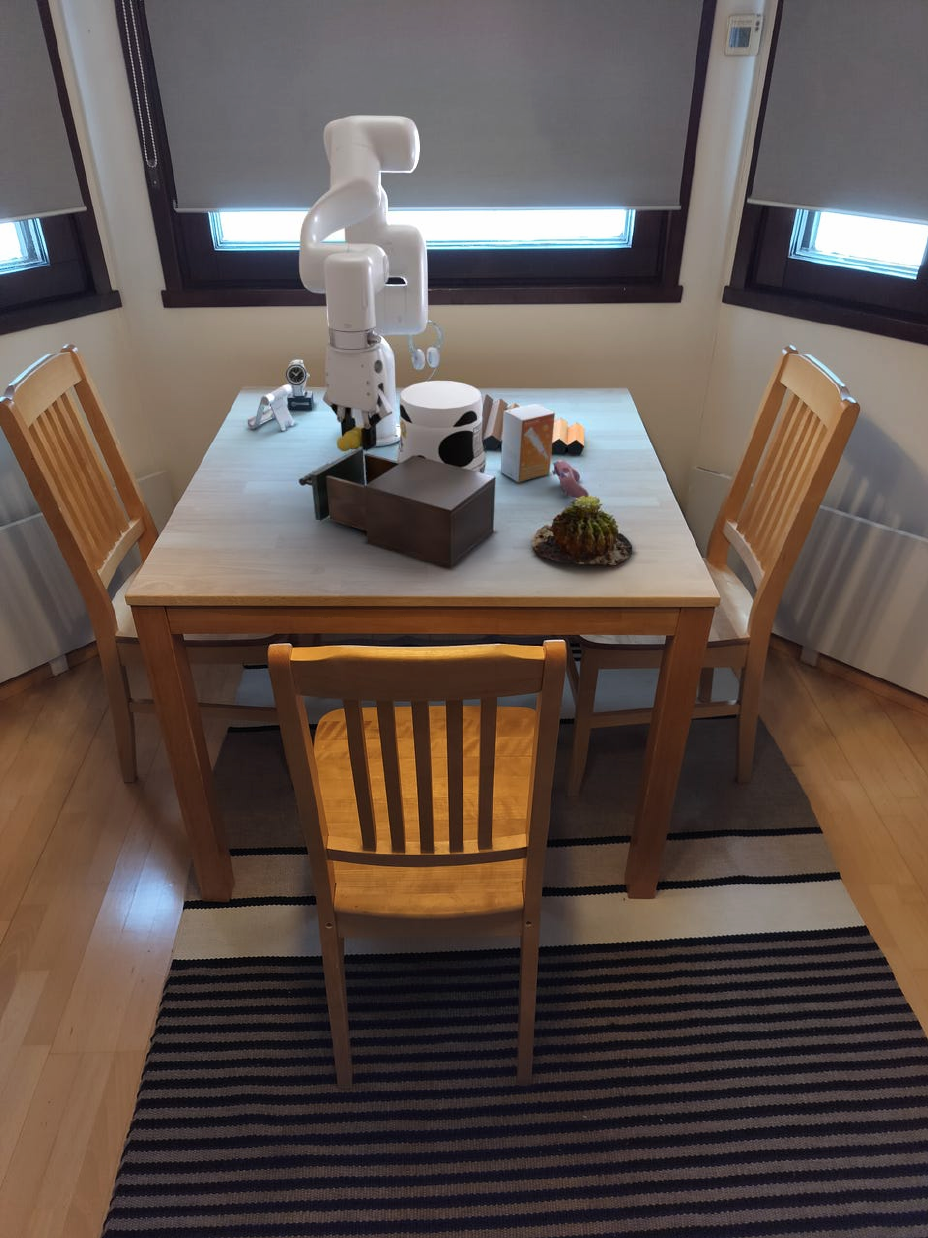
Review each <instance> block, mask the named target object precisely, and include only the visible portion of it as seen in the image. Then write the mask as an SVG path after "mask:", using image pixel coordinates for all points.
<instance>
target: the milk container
mask: <svg viewBox="0 0 928 1238" xmlns="http://www.w3.org/2000/svg"><path fill="white" fill-rule="evenodd" d="M398 405H399V406H398V409H399V425H400V440H399V443H398V447H397V451H396V458H395V461H398V462H403V461H405V460H406V459H408V458H410V457H411V456H413V455H414V456H418V457H422V458H425V459H429V460H433V461H437V462H441V463H445V464H449V465H453V466H457V467H461V468H464V469H468V470H472V471H476V472H480V473H484V474H485V471H486V463H487V459H486V451H485V446H484V442H482V410H483V406H482V394H481V391H480V390H479V389H478V388H476V387H475V386H474V385H470V384H467V383H464V382H458V381H451V380H431V381H427V382H426V381H422V382H418V383H413V384H411V385H408V386H406V387H405V388H404V389H402V391H401V392H400V394H399V404H398Z"/></svg>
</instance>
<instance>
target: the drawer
mask: <svg viewBox="0 0 928 1238" xmlns="http://www.w3.org/2000/svg"><path fill="white" fill-rule="evenodd" d="M400 463H402V462H398V461H396V460H395V459H394V460H393V459H390V458H386V457H382V456H379V455H375V454H371V453H367V452H366V453H364V450H363V449H362V447H358V448H357V449H352V450H351V451H348V452H347V453H345V454H344V455H342V456H340V457H338V458H337V459H335V460H333V461H331V462H327V463H325V464H324V465H322V466H320V467H318V468H317V469H314V470H313V471H311V472H309V473H307V474H306V475H304V476H302V477H300V478H299V479H298V483H299V485H300V486H301V487H302V486H303V487H304V486H305V485H306V486H311V489H312V498H313V508H314V517H315V520H316V521H319V522H322V521H323V520H325V519H326V518H329V520H330V521H331V522H332V521H333V522H336V523H339V524H342V525H346V526H348V527H353V528H355V529H358V530H362V531H364V532H367V524H366V508H365V490H364V486H365V485H367V484H368V483H370V482H371V481H373V480H374V479H376V478H378V477H379V476H381V475H382V474H384V473H386V472H387V471H389V470H390V469H392V468H394V467H395V466H397V465H398V464H400Z"/></svg>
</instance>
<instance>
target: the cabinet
mask: <svg viewBox="0 0 928 1238" xmlns="http://www.w3.org/2000/svg"><path fill="white" fill-rule="evenodd" d="M364 490H365V508H366V524H367V531H366V538H367V544H371V545H374V546H377V547H380V548H383V549H387V550H389V551H393V552H396V553H398V554H403V555H405V556H409V557H411V558H415V559H417V560H421V561H425V562H426V563H427V562H428V563H431V564H434V565H437V566H440V567H444V568H447V569H450V570H451V569H452V568H453V567H455V566H456V565H457V564H458V563H459V562H461V561H462V560H463V559H464V558H465V557H466V556H467V555H469V554H470V553H471V552H472V551H474V550H475V549H476V548H477V547H478V546H479V545H481V544H482V543H483V542H484V541H485V540H486V539H487V538H489V536H491V535H492V534H493V533H494V527H495V501H496V500H495V499H496V497H495V496H496V476H495V475H491V474H488V473H485V472H484V473H480V472H476V471H472V470H468V469H464V468H461V467H457V466H453V465H449V464H445V463H441V462H437V461H433V460H429V459H425V458H422V457H418V456H414V455H413V456H411V457H410V458H408V459H406V460H405V461H403V462H402V463H400V464H398V465H397V466H395V467H394V468H392V469H390V470H389V471H387V472H386V473H384V474H382V475H381V476H379V477H378V478H376V479H374V480H373V481H371V482H370V483H368V484H367V485H366V484H365V486H364Z"/></svg>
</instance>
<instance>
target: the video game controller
mask: <svg viewBox="0 0 928 1238" xmlns="http://www.w3.org/2000/svg"><path fill="white" fill-rule="evenodd" d="M551 471H552V474H553V475H554V476H557V477H558V480H559V485H560V487H561V488H562V492H563V494H565V495H566V496H570V497H572V498H573V499H575V498H578V499H580V498H579V497H581V496H585V497H587V498H588V495H589V492H588V491H587V490H586V488H585V487H583V486H582V485H580V484H579V483H578V482H579V481H580V480H581V475H580V473H579V472H578V470H577V469H576V468H573V467H572V465H571V464H569V462H567V461H566V460H564V458H563V459H562V460H560V459H559V460H557V461H555V462H553V469H552V470H551ZM589 496H590V495H589Z"/></svg>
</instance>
